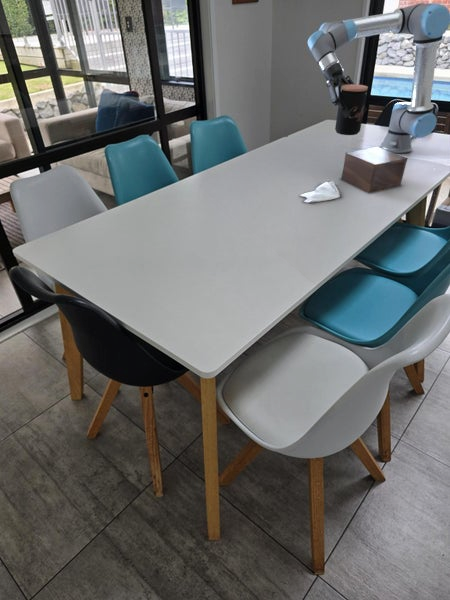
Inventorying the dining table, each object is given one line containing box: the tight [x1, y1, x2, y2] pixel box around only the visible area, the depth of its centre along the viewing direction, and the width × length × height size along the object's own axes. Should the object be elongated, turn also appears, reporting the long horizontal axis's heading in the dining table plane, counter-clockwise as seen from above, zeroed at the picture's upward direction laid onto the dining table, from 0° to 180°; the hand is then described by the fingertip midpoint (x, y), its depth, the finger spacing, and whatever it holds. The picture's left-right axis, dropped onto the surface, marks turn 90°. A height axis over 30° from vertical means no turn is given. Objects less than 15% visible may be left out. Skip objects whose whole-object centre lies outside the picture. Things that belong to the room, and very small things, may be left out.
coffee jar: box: [334, 83, 369, 136], centre depth 174 cm, size 11×11×18 cm
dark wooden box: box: [340, 146, 408, 194], centre depth 180 cm, size 18×18×12 cm
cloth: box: [299, 180, 341, 204], centre depth 173 cm, size 26×14×2 cm, turn 136°
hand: (356, 114), depth 173 cm, fingers closed on coffee jar, 11 cm apart
